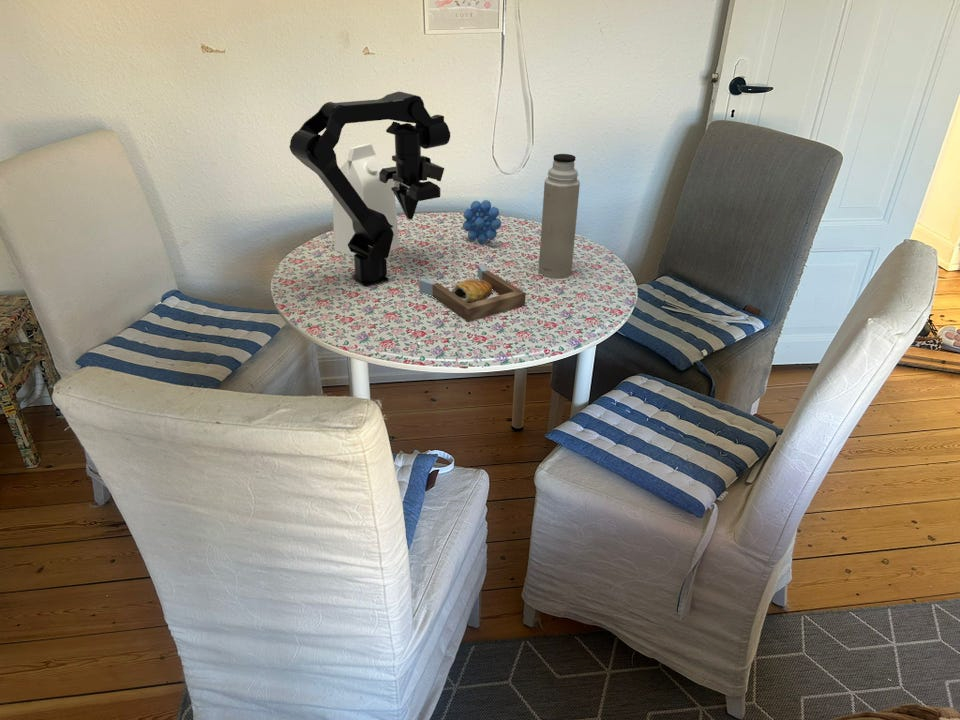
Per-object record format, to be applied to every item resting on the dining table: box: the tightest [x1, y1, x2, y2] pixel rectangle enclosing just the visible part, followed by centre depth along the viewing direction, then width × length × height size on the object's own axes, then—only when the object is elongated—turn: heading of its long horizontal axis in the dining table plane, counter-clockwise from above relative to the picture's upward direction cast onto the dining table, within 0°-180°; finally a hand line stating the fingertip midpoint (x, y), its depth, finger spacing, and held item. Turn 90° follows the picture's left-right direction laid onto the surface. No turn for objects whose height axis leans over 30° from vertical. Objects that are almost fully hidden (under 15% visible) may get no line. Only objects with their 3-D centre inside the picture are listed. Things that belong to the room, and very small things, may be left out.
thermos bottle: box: [538, 153, 581, 279], centre depth 167 cm, size 8×8×28 cm
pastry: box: [451, 279, 493, 304], centre depth 161 cm, size 9×7×4 cm
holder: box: [418, 263, 527, 323], centre depth 160 cm, size 18×18×3 cm
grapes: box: [462, 199, 502, 245], centre depth 187 cm, size 12×7×12 cm, turn 57°
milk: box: [332, 142, 400, 258], centre depth 178 cm, size 12×12×26 cm
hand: (410, 218), depth 169 cm, fingers closed
